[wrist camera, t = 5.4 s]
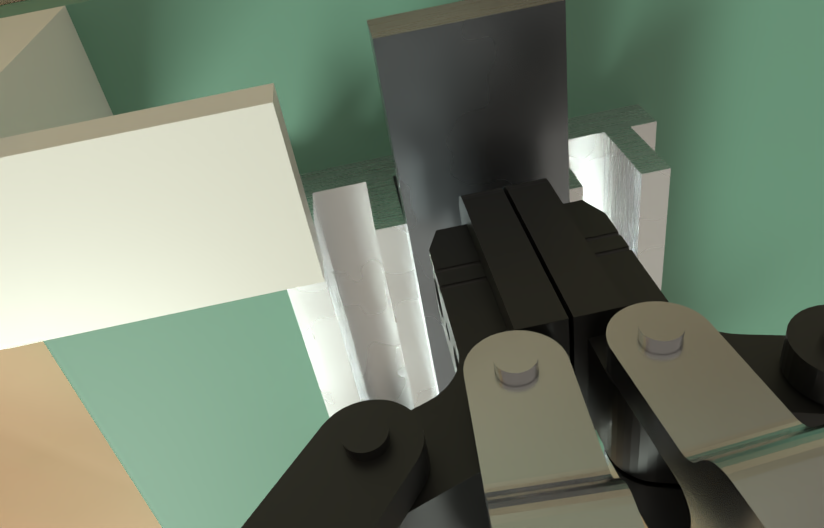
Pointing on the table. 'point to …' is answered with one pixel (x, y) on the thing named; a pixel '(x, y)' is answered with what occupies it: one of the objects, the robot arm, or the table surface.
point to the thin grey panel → (469, 117)
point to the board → (368, 139)
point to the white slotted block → (393, 269)
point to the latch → (135, 195)
